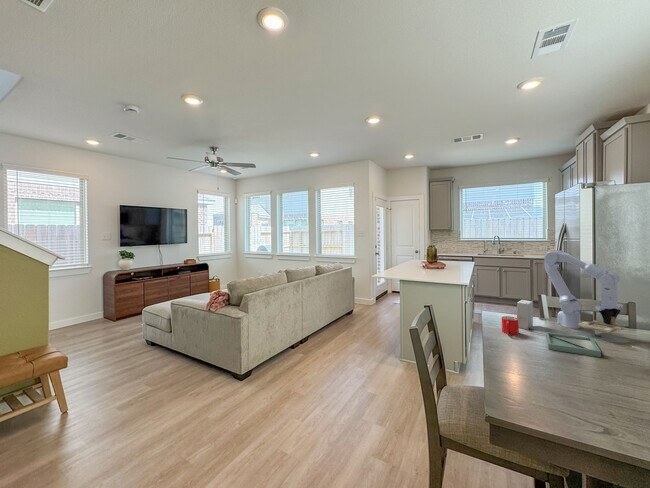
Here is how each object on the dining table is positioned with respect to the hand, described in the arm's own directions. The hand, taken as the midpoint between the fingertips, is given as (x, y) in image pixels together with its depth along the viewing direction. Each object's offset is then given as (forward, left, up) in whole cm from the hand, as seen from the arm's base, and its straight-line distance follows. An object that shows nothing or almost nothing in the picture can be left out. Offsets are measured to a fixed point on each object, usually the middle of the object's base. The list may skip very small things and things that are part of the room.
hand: (609, 323), depth 145 cm
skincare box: (-25, -24, -8) cm, 36 cm away
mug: (-19, -40, -8) cm, 45 cm away
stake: (0, -7, -6) cm, 9 cm away
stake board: (0, -5, -7) cm, 9 cm away
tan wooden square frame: (0, -5, -2) cm, 6 cm away
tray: (+3, -27, -7) cm, 29 cm away
